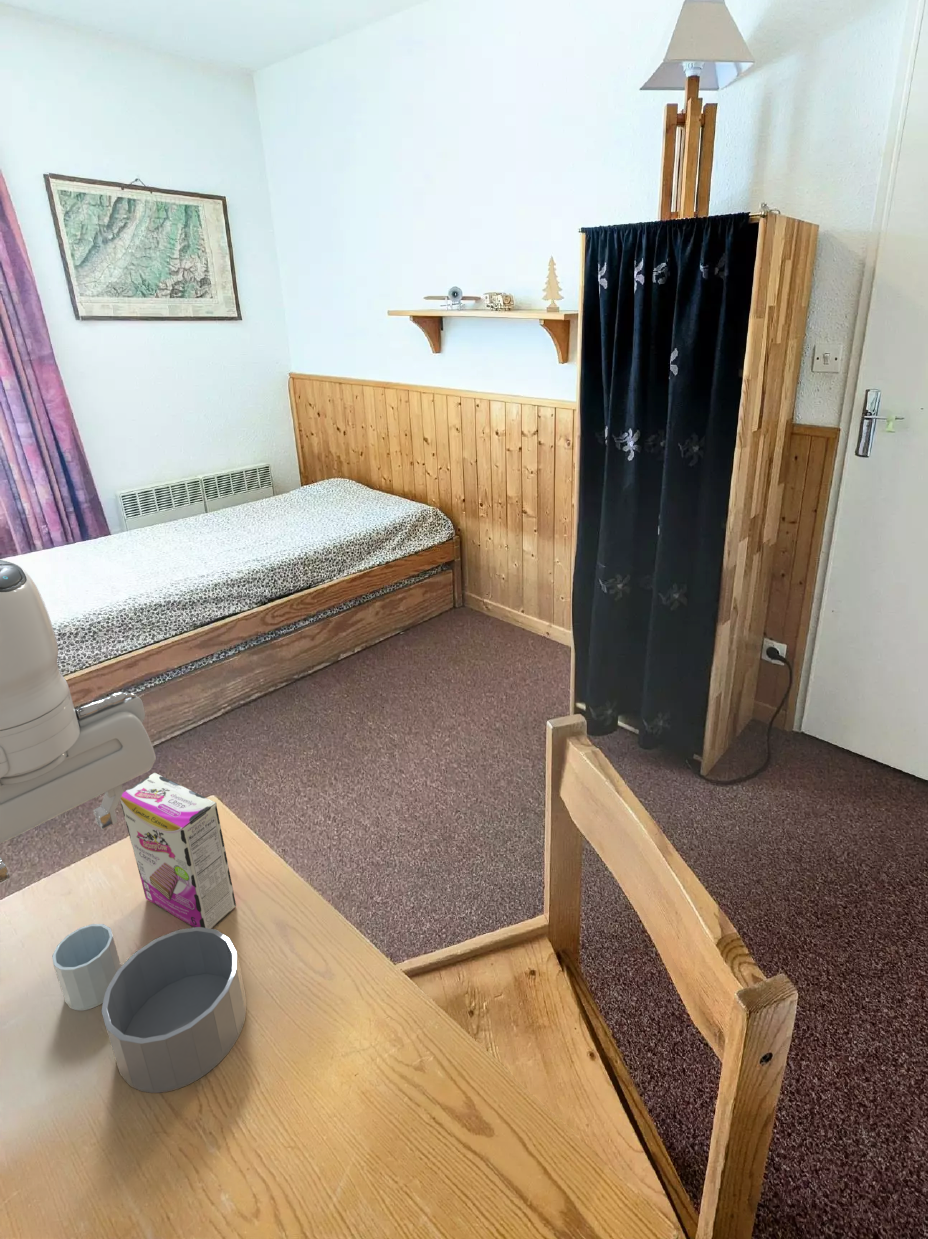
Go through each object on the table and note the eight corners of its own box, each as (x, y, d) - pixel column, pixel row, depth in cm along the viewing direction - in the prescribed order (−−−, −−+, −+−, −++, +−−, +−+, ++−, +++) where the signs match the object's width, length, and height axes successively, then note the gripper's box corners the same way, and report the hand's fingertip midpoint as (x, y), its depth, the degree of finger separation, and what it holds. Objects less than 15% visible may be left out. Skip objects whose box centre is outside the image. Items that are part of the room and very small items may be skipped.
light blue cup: (57, 990, 73) (44, 949, 71) (111, 954, 77) (100, 915, 75) (76, 1022, 70) (63, 980, 68) (132, 983, 74) (121, 942, 72)
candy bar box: (142, 902, 84) (115, 795, 78) (178, 873, 88) (154, 770, 82) (204, 939, 79) (180, 828, 73) (238, 907, 83) (218, 799, 77)
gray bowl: (96, 1037, 68) (81, 988, 66) (211, 953, 77) (202, 907, 75) (149, 1124, 61) (134, 1072, 59) (269, 1020, 70) (261, 972, 68)
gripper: (125, 674, 71) (150, 782, 76) (-135, 773, 56) (-83, 899, 61) (152, 695, 67) (176, 807, 72) (-119, 807, 52) (-65, 939, 57)
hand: (55, 850), depth 66 cm, fingers open, 8 cm apart
